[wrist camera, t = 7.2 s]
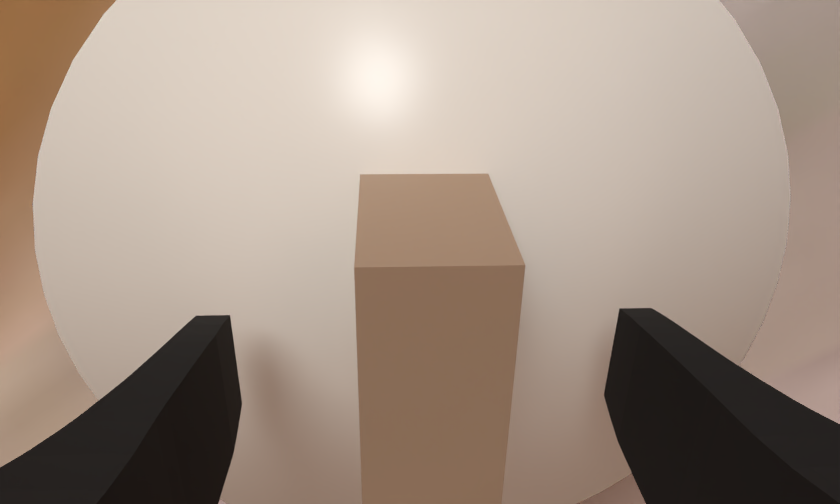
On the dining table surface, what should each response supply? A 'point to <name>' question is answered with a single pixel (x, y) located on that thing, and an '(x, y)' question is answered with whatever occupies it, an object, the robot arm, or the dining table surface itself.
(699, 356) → the robot arm
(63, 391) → the dining table surface
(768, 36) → the dining table surface
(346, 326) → the cover
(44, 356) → the dining table surface
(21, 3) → the dining table surface
